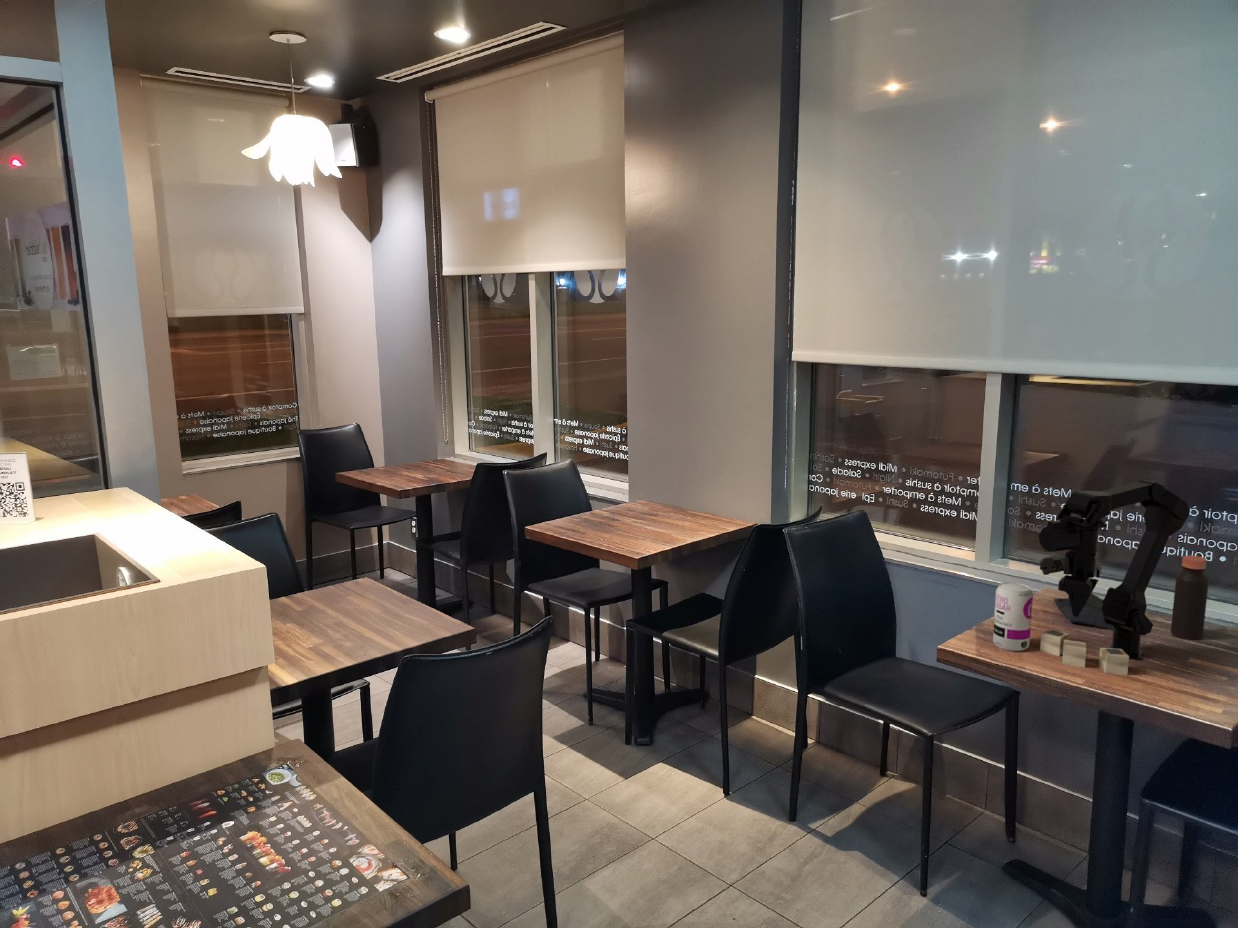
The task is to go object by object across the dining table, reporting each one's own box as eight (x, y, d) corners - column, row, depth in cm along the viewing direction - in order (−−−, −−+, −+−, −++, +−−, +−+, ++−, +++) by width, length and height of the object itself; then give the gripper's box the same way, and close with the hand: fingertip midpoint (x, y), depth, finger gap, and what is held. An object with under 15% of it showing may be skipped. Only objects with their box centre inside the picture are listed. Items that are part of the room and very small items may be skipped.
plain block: (1062, 657, 203) (1063, 639, 203) (1084, 660, 201) (1085, 642, 201) (1062, 664, 199) (1064, 646, 199) (1084, 667, 197) (1086, 649, 197)
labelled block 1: (1048, 646, 210) (1050, 627, 210) (1067, 651, 207) (1069, 633, 206) (1040, 650, 208) (1041, 632, 207) (1059, 656, 204) (1060, 637, 203)
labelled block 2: (1098, 666, 198) (1100, 646, 198) (1119, 667, 197) (1121, 648, 197) (1105, 673, 194) (1107, 654, 193) (1127, 675, 193) (1129, 655, 192)
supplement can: (1033, 645, 211) (1038, 586, 208) (1022, 654, 205) (1026, 594, 203) (999, 637, 216) (1003, 579, 214) (987, 646, 211) (991, 587, 208)
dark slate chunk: (1057, 625, 225) (1059, 608, 224) (1053, 600, 245) (1054, 584, 244) (1125, 634, 219) (1126, 616, 218) (1114, 607, 239) (1116, 590, 238)
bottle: (1197, 642, 212) (1206, 563, 208) (1166, 634, 217) (1174, 558, 213) (1206, 635, 216) (1214, 558, 213) (1175, 628, 221) (1183, 552, 218)
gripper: (1051, 533, 208) (1047, 595, 210) (1035, 551, 193) (1031, 617, 196) (1104, 540, 201) (1098, 604, 204) (1091, 558, 186) (1086, 627, 189)
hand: (1077, 612), depth 198 cm, fingers open, 5 cm apart
